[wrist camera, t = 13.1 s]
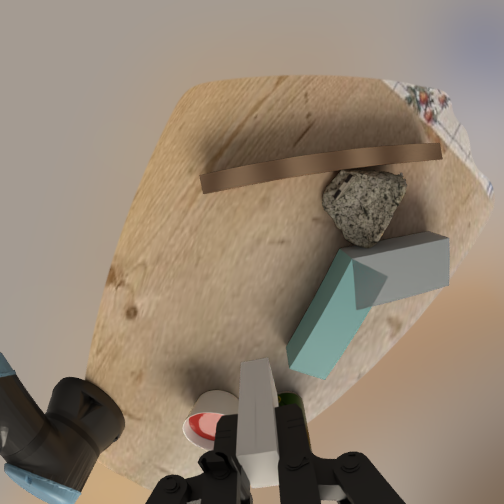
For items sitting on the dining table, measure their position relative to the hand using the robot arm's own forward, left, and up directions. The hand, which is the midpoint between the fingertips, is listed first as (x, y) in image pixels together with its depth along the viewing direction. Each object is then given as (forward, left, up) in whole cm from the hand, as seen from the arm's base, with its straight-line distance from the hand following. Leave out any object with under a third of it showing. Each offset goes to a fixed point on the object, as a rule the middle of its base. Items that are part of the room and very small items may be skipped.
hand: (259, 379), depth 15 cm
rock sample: (+13, +6, -21) cm, 25 cm away
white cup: (-10, -20, -21) cm, 31 cm away
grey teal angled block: (+12, -6, -20) cm, 25 cm away
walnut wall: (+10, +11, -21) cm, 26 cm away
